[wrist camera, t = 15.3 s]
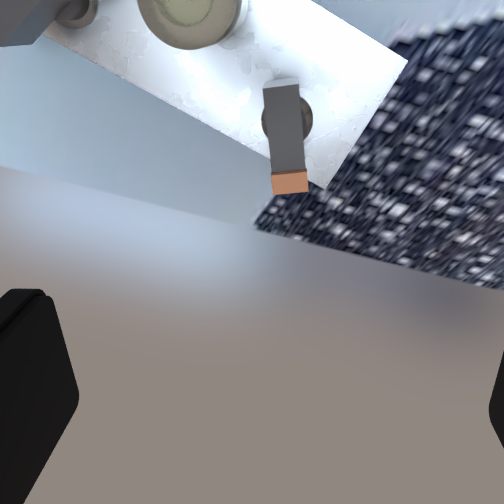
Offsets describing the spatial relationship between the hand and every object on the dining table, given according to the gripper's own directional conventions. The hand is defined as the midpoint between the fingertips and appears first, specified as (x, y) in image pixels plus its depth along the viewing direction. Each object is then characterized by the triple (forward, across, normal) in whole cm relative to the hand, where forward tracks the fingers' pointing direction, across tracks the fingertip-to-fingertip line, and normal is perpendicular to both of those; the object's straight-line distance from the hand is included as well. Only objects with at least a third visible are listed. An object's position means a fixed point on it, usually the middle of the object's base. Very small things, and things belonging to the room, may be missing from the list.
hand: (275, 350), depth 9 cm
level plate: (+26, +6, -6) cm, 28 cm away
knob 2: (+24, 0, 0) cm, 24 cm away
